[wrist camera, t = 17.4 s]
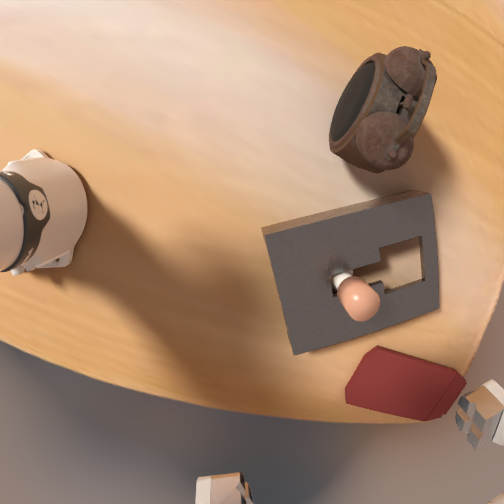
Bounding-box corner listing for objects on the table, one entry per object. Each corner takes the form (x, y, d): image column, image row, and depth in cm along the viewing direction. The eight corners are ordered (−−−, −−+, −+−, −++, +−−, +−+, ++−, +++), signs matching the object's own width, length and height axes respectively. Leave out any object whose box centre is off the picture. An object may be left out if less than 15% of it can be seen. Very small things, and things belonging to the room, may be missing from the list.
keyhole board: (424, 296, 49) (439, 308, 44) (288, 338, 50) (293, 355, 45) (413, 190, 44) (430, 193, 40) (261, 227, 45) (264, 235, 40)
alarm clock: (344, 66, 39) (408, 12, 20) (387, 89, 40) (468, 54, 21) (308, 154, 43) (362, 146, 23) (354, 175, 44) (431, 185, 24)
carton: (337, 386, 57) (434, 411, 56) (340, 401, 52) (441, 424, 51) (366, 334, 54) (464, 365, 53) (372, 347, 49) (473, 377, 48)
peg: (316, 260, 47) (341, 292, 34) (347, 252, 46) (381, 280, 34) (322, 290, 48) (347, 329, 36) (352, 281, 48) (384, 317, 36)
